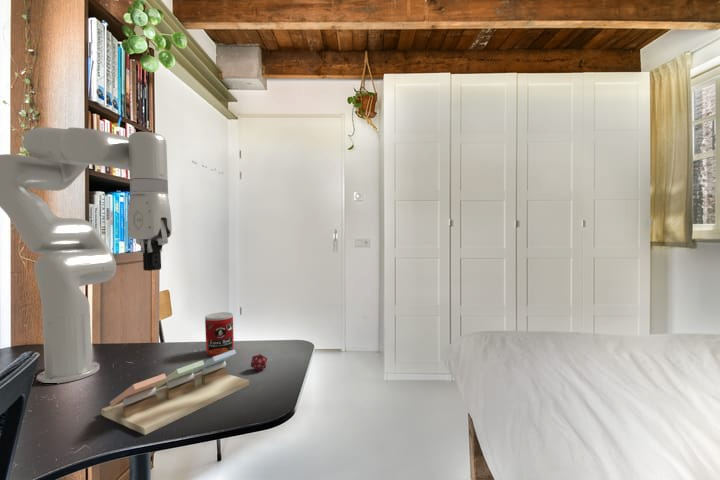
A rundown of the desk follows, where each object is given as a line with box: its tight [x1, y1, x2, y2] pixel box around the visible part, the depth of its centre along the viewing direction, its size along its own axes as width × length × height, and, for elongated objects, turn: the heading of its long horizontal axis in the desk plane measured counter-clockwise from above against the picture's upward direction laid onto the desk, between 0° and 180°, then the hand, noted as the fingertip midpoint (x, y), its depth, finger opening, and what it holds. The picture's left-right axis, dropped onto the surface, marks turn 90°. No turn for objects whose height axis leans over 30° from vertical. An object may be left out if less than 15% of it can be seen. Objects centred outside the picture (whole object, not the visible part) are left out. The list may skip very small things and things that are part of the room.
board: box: [100, 366, 250, 436], centre depth 80 cm, size 15×24×3 cm, turn 149°
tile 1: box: [109, 373, 167, 407], centre depth 73 cm, size 10×6×2 cm
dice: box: [250, 353, 268, 371], centre depth 96 cm, size 4×4×4 cm
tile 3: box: [192, 348, 237, 375], centre depth 88 cm, size 10×6×2 cm, turn 58°
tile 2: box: [155, 359, 205, 389], centre depth 80 cm, size 10×6×2 cm, turn 58°
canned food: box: [204, 311, 235, 357], centre depth 111 cm, size 8×8×11 cm
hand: (152, 269), depth 86 cm, fingers closed
